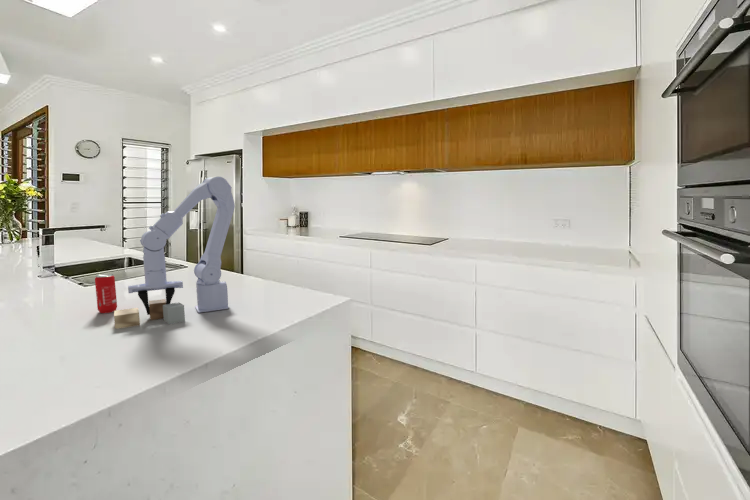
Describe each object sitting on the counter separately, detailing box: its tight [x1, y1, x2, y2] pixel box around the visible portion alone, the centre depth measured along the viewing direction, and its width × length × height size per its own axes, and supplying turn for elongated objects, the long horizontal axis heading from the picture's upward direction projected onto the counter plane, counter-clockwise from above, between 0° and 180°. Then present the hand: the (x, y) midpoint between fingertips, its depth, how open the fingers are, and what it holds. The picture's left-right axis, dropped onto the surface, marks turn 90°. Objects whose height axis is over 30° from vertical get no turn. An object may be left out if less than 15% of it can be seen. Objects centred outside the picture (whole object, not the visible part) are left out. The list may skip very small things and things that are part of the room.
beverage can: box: [94, 273, 118, 314], centre depth 122 cm, size 5×5×12 cm
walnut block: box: [148, 298, 166, 321], centre depth 117 cm, size 4×4×5 cm
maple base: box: [113, 307, 141, 330], centre depth 110 cm, size 6×6×4 cm
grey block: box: [163, 302, 186, 325], centre depth 113 cm, size 4×4×5 cm
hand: (158, 312), depth 117 cm, fingers closed on walnut block, 4 cm apart
